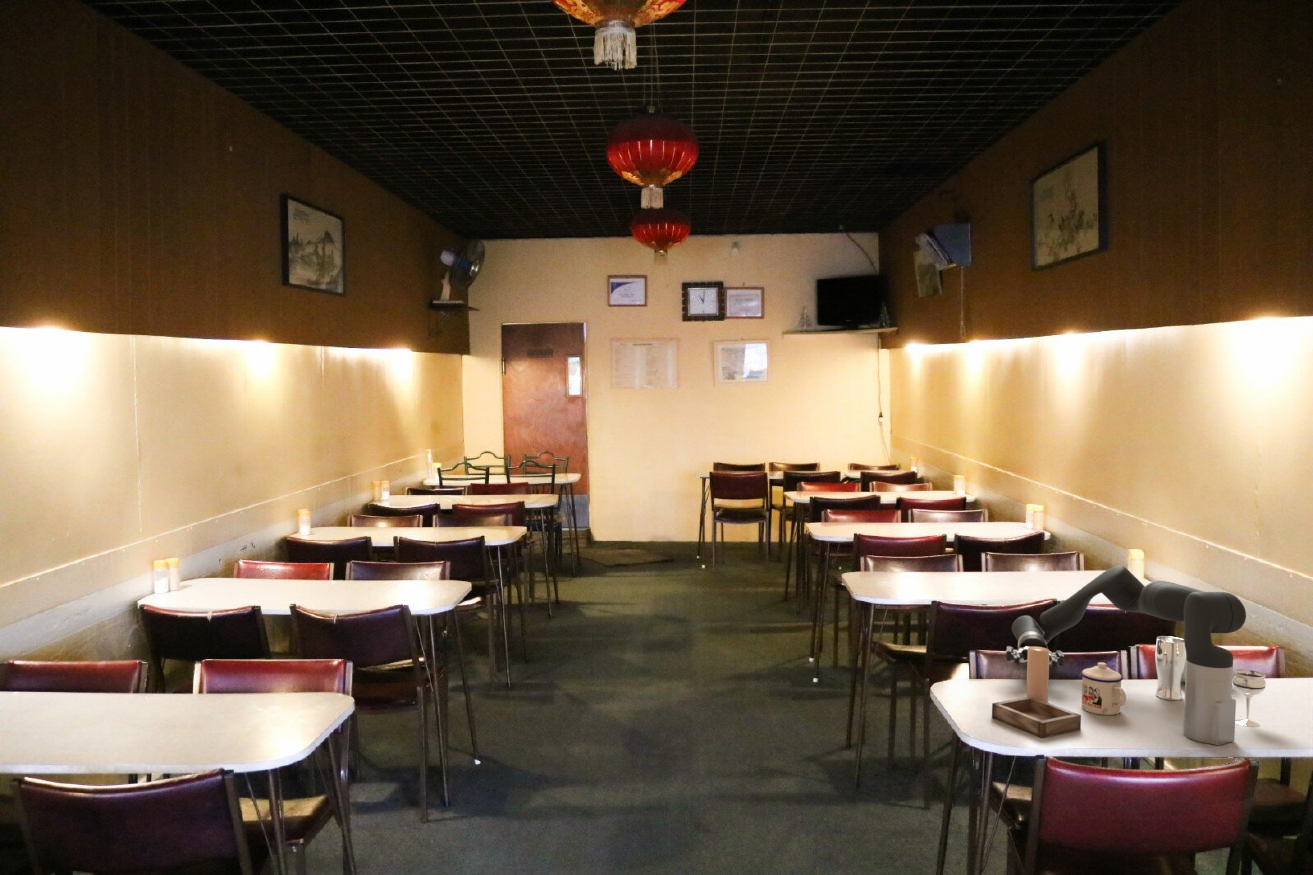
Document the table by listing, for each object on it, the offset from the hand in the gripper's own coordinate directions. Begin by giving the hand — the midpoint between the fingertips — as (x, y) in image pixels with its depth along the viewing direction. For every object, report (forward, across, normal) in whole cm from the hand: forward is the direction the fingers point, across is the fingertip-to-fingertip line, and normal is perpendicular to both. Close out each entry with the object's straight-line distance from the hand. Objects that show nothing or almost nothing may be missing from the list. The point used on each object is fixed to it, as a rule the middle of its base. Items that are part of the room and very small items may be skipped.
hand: (1035, 663), depth 250 cm
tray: (+25, -1, +8) cm, 26 cm away
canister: (+10, 0, +8) cm, 12 cm away
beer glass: (-9, +32, +8) cm, 35 cm away
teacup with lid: (+10, +16, +8) cm, 20 cm away
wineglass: (+7, +47, +8) cm, 48 cm away
